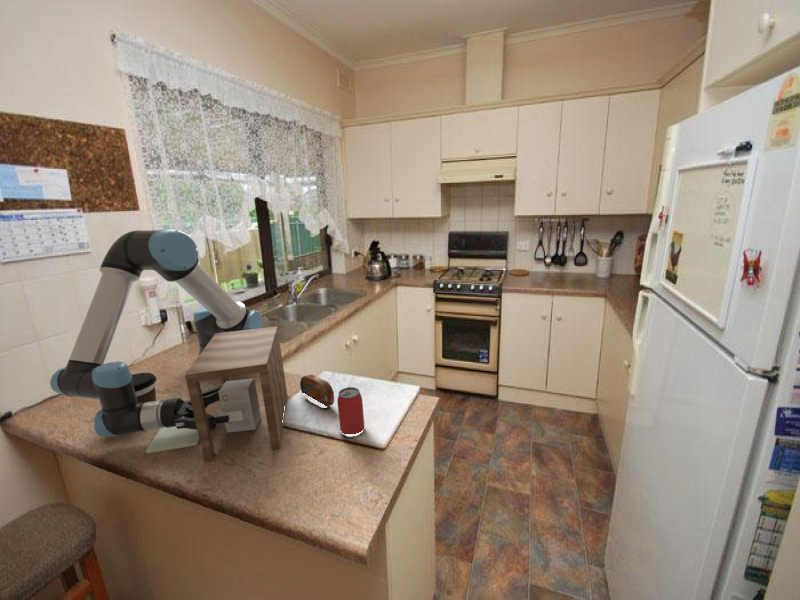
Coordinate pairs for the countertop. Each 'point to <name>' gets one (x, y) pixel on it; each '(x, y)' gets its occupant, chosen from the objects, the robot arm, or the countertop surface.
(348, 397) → the beer can
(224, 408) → the small box
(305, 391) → the brown rounded flat block
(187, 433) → the pad
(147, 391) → the coffee cup
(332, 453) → the countertop surface
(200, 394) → the wooden step stool
